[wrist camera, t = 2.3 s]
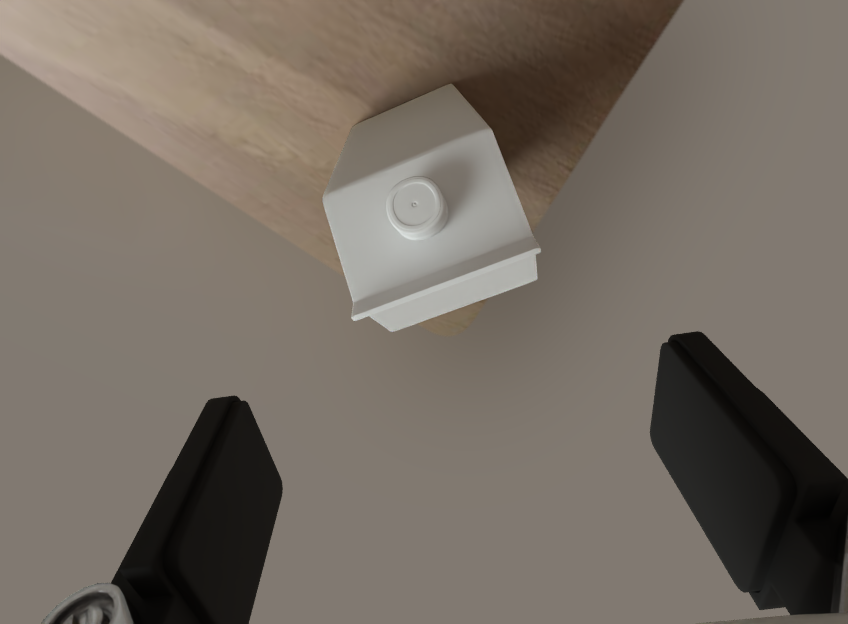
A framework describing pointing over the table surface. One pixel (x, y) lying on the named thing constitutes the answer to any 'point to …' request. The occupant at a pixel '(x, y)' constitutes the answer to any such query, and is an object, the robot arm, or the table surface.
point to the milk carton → (426, 213)
